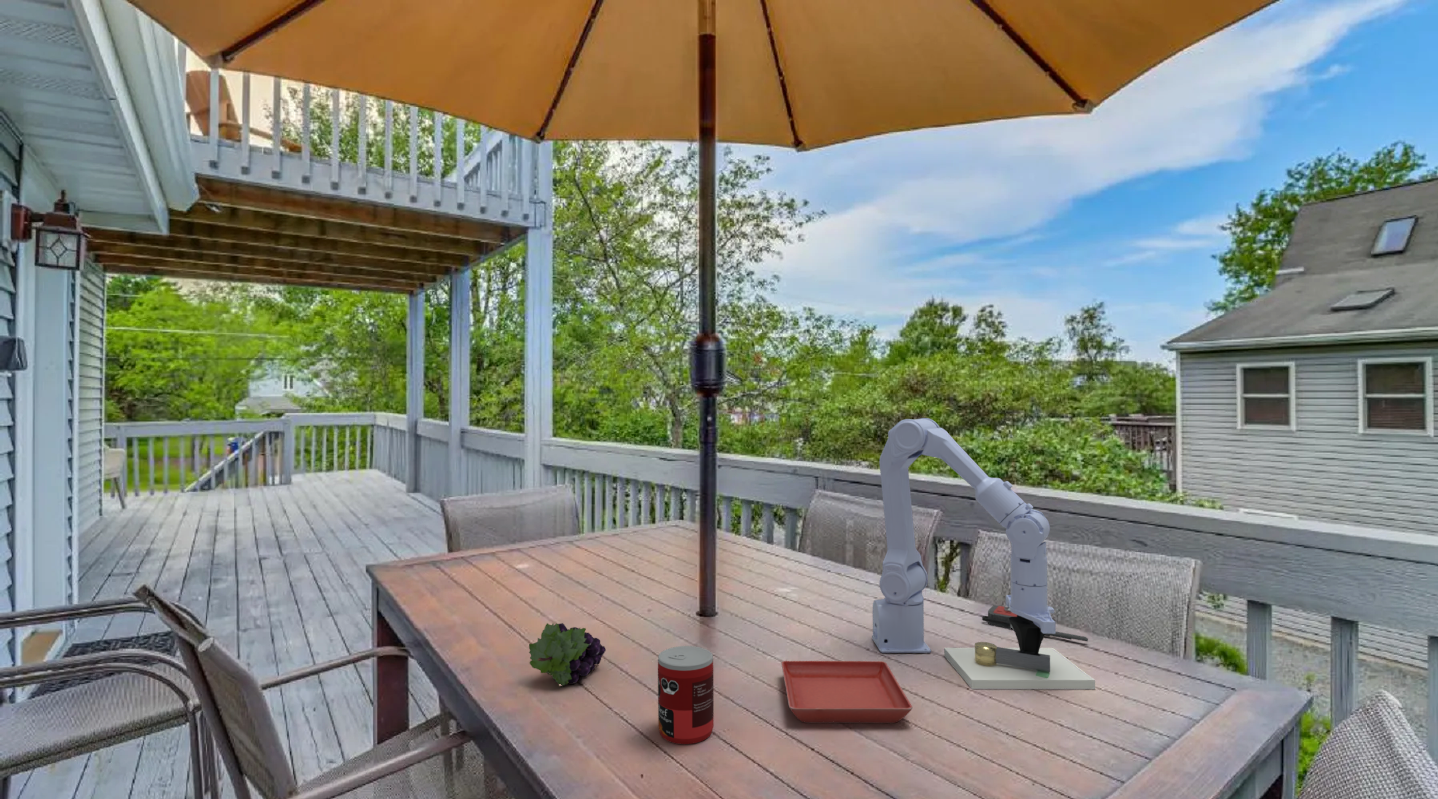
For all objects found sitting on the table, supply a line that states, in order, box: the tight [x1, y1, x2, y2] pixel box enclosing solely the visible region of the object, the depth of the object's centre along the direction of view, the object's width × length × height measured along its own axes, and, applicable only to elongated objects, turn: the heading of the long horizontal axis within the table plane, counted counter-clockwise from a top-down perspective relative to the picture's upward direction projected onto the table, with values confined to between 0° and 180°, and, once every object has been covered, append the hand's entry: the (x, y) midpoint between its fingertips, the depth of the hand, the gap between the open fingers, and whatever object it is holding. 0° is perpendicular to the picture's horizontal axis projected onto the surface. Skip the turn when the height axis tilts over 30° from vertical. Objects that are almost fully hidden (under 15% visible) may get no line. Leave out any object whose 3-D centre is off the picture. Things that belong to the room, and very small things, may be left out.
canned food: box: [657, 645, 715, 745], centre depth 94 cm, size 8×8×11 cm
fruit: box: [528, 622, 607, 686], centre depth 113 cm, size 10×10×15 cm
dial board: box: [943, 647, 1096, 690], centre depth 114 cm, size 20×14×2 cm
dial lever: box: [974, 641, 1050, 672], centre depth 112 cm, size 12×4×3 cm, turn 62°
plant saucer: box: [780, 660, 913, 724], centre depth 103 cm, size 18×18×3 cm
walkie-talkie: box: [981, 604, 1089, 642], centre depth 134 cm, size 9×4×20 cm
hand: (1029, 660), depth 112 cm, fingers closed
